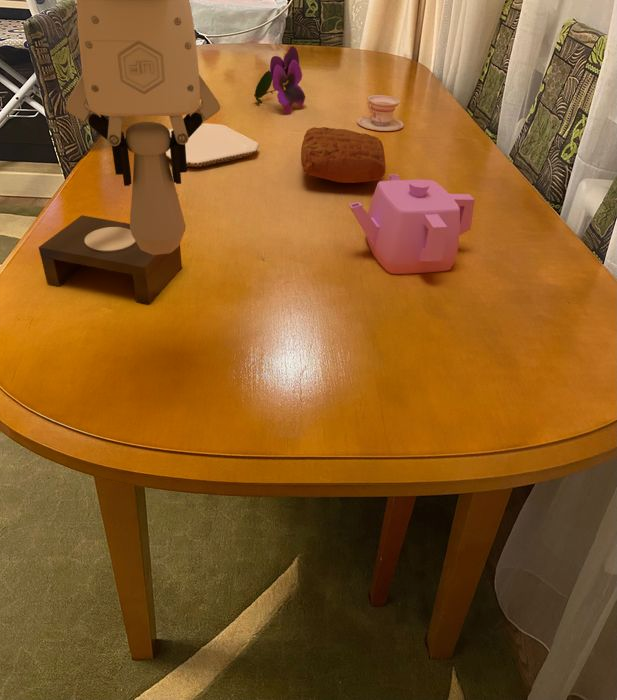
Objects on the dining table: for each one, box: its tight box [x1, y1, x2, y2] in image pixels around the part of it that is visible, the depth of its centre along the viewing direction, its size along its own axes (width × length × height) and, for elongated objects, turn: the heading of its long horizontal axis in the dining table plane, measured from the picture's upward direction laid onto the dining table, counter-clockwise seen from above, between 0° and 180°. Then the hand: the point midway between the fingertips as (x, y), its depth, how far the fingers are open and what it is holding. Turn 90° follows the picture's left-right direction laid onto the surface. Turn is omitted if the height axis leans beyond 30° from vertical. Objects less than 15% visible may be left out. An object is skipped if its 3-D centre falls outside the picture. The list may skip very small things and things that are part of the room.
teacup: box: [356, 94, 405, 132], centre depth 154 cm, size 12×12×6 cm
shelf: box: [38, 215, 183, 306], centre depth 88 cm, size 16×11×6 cm
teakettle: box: [348, 173, 475, 275], centre depth 97 cm, size 17×17×12 cm
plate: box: [166, 122, 260, 168], centre depth 133 cm, size 21×21×2 cm
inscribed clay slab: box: [300, 126, 386, 184], centre depth 124 cm, size 22×17×8 cm
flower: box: [253, 45, 306, 115], centre depth 160 cm, size 15×15×14 cm
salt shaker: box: [125, 121, 187, 255], centre depth 62 cm, size 6×6×13 cm
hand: (152, 178), depth 62 cm, fingers closed on salt shaker, 4 cm apart
